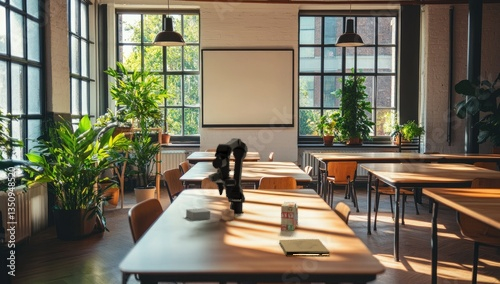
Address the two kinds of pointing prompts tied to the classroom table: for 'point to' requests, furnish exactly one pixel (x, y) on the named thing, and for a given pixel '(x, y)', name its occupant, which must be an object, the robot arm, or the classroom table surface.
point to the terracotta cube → (228, 214)
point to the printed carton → (289, 216)
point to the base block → (198, 214)
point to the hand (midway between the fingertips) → (223, 196)
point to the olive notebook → (303, 246)
